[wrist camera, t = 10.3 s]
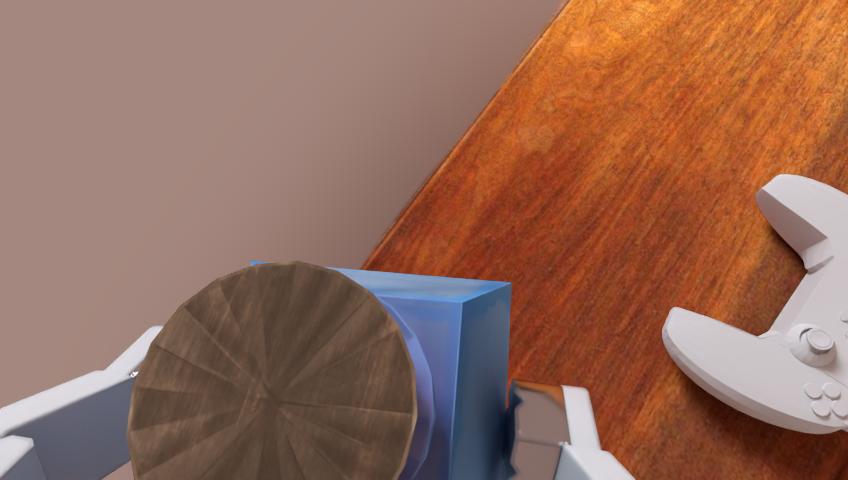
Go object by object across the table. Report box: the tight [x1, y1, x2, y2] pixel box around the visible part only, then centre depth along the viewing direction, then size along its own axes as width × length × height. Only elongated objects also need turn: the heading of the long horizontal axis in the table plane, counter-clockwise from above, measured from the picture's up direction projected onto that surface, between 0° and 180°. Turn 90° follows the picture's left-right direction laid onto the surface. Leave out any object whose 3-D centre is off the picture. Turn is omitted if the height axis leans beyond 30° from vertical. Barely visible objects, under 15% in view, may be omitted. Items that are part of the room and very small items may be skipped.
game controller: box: [662, 174, 848, 434], centre depth 28 cm, size 14×4×10 cm
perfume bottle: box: [126, 261, 511, 480], centre depth 11 cm, size 6×6×12 cm
